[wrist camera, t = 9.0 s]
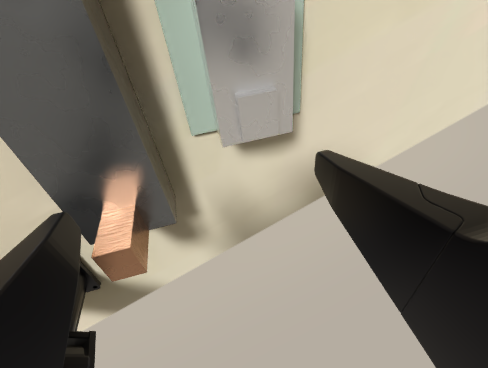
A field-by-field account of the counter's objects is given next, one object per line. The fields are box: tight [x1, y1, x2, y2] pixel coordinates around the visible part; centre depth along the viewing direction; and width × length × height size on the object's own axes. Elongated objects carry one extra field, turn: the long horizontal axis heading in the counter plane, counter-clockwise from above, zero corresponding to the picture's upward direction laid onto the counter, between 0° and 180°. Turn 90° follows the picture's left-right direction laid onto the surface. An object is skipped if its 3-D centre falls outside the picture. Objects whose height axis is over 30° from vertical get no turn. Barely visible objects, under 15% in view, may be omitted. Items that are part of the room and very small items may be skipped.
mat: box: [155, 0, 304, 136], centre depth 18 cm, size 10×9×1 cm
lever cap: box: [190, 0, 295, 147], centre depth 16 cm, size 9×5×4 cm, turn 6°
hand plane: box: [0, 0, 177, 282], centre depth 14 cm, size 22×7×8 cm, turn 6°
